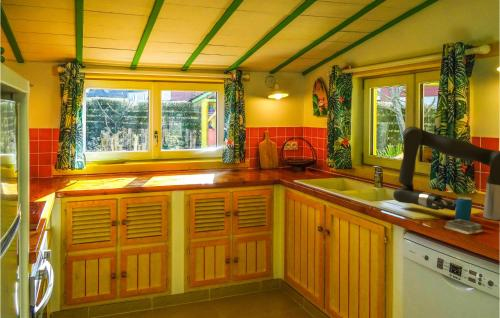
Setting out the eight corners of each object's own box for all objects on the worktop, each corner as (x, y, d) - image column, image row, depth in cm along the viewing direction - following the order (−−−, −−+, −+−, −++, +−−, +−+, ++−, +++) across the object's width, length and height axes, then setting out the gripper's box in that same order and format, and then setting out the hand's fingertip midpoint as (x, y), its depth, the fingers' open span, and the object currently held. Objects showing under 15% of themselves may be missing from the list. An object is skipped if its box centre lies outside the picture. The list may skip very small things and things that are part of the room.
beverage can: (458, 220, 207) (461, 196, 205) (472, 224, 201) (475, 198, 200) (451, 222, 203) (454, 197, 201) (465, 225, 198) (468, 200, 196)
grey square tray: (459, 225, 198) (459, 218, 198) (482, 231, 189) (483, 224, 189) (444, 227, 193) (444, 221, 192) (467, 234, 183) (468, 227, 183)
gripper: (421, 194, 212) (452, 201, 198) (440, 192, 220) (470, 198, 206) (420, 209, 213) (450, 217, 199) (438, 207, 220) (469, 214, 207)
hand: (460, 207), depth 203 cm, fingers open, 8 cm apart
